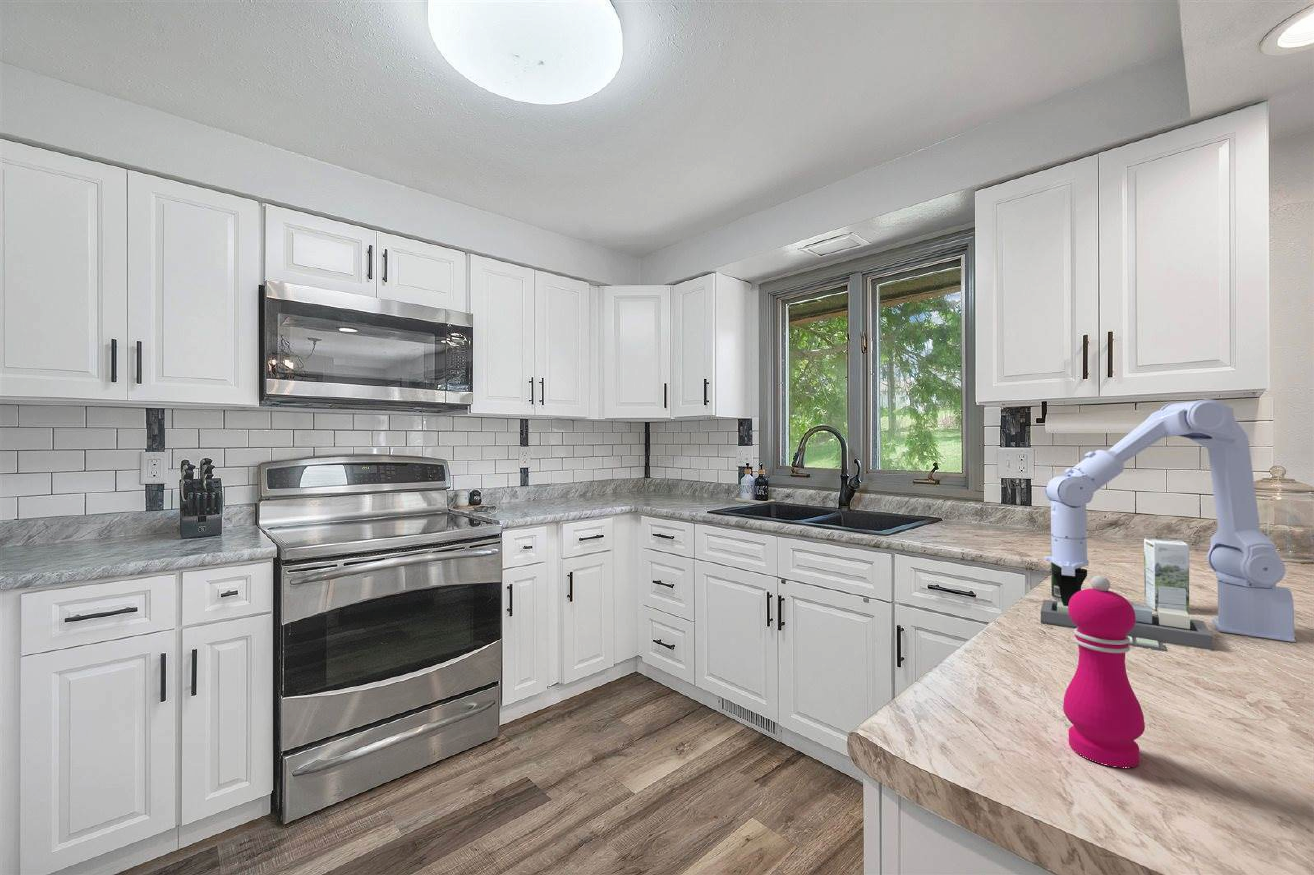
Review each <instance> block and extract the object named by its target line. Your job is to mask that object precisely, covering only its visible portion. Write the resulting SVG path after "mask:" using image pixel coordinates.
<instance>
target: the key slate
mask: <svg viewBox="0 0 1314 875" xmlns="http://www.w3.org/2000/svg"><path fill="white" fill-rule="evenodd" d="M1130 604H1131V605H1132V607H1133V609H1134V611H1135V617H1136V621H1137V622H1144V623H1151V624H1152V614H1153V611H1152V608H1151V607H1150V606H1148V605H1144V604H1135V603H1130Z"/></svg>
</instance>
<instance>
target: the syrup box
mask: <svg viewBox="0 0 1314 875" xmlns="http://www.w3.org/2000/svg"><path fill="white" fill-rule="evenodd" d="M1143 559H1144V560H1143V562H1144V563H1143V565H1144V567H1143V568H1144V569H1143V570H1144V575H1143V576H1144V604H1145V606H1150V608H1151V610H1154V611H1157V607H1159V608H1167V609H1174V610H1182V611H1187V613H1188V614H1190V545H1189V544H1188V543H1187V542H1185V541H1184V540H1183V541H1182V540H1179V539H1164V538H1162V539H1161V538H1144V539H1143Z"/></svg>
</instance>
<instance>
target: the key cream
mask: <svg viewBox="0 0 1314 875" xmlns="http://www.w3.org/2000/svg"><path fill="white" fill-rule="evenodd" d="M1156 615H1157V620H1158V622H1159V625H1165V626H1172V627H1179V628H1186V629H1190V619H1191V617H1190V613H1187V611H1182V610H1174V609H1167V608H1159V607H1157V610H1156Z"/></svg>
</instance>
